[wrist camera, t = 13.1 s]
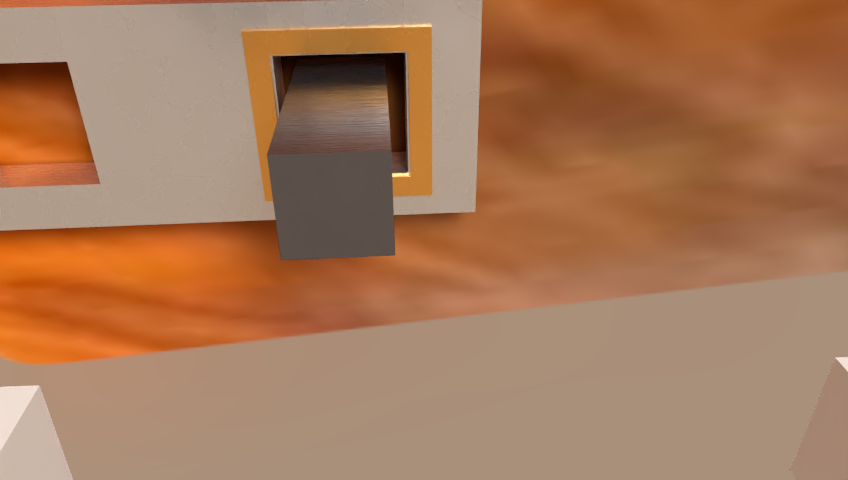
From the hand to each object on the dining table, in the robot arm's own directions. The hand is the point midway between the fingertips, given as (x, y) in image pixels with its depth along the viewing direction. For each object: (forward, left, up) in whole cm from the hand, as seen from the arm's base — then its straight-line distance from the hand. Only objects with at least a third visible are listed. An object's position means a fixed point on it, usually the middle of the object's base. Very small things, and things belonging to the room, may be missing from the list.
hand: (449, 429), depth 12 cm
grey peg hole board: (+2, -10, -23) cm, 25 cm away
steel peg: (+2, -3, -23) cm, 24 cm away
